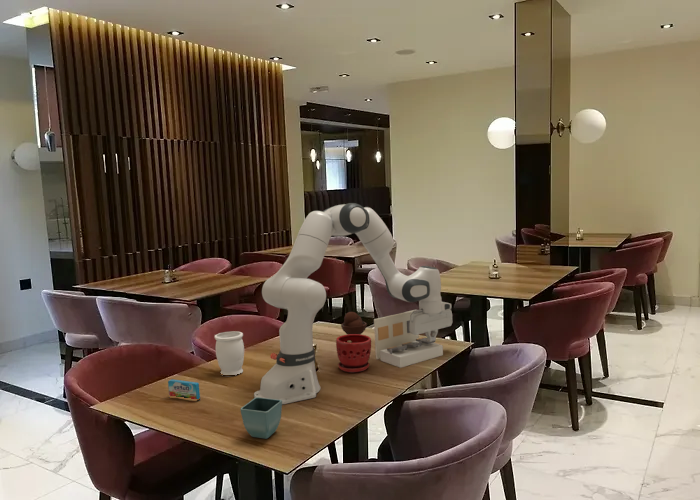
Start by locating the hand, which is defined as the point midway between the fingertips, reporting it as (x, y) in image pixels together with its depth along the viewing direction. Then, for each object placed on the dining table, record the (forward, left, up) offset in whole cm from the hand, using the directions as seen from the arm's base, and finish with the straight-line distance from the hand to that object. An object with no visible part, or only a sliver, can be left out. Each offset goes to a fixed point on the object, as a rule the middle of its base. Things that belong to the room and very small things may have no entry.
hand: (431, 341), depth 220 cm
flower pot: (-84, -19, -6) cm, 86 cm away
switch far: (0, +4, 0) cm, 4 cm away
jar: (-69, +38, -6) cm, 78 cm away
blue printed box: (-92, +23, -6) cm, 95 cm away
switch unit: (-8, +5, -6) cm, 11 cm away
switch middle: (-8, +4, 0) cm, 8 cm away
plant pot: (-32, +9, -6) cm, 33 cm away
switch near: (-15, +4, 0) cm, 16 cm away
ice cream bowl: (-14, +34, -6) cm, 37 cm away
